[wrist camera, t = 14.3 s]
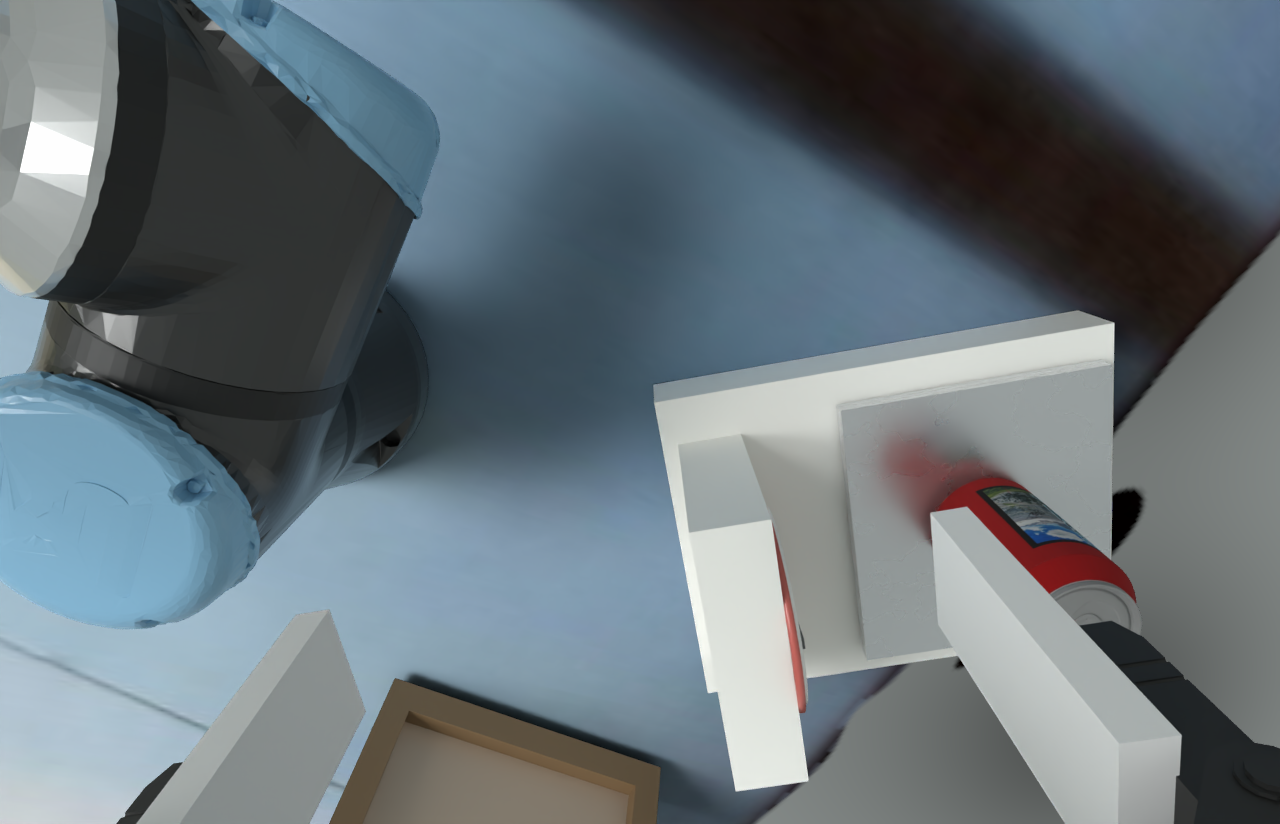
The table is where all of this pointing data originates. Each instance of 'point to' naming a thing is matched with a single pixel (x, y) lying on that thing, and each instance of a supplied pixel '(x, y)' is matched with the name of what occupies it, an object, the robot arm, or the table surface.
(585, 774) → the photo frame
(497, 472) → the table surface
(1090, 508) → the weighing pan
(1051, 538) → the beverage can
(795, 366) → the scale
